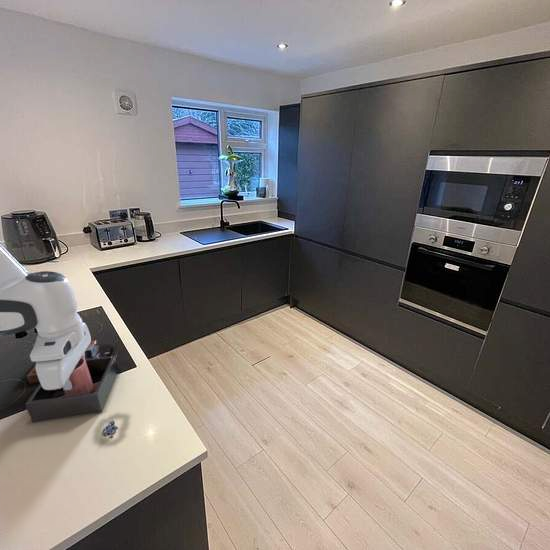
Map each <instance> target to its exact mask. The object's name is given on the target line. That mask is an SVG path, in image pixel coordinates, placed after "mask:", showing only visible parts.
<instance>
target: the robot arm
mask: <svg viewBox="0 0 550 550" xmlns="http://www.w3.org/2000/svg"><path fill="white" fill-rule="evenodd" d="M71 285H72V284H71V283H70V282H69V279H68V278H67V277H66V276H65V275H64V274H62V273H59V272H57V271H52V270H51V271H50V270H44V271H36V272H31V271H29V270H28V269H26V268H25V267H24V266H23V265H22V264H21V263H20V262H19V261H18V260H17V259H16V258H15V257H14V256H13V255H12V254H11V253H10V252H9V251H8V250H7V249H6V248H5V247H4V246H3V245H2V244H1V243H0V336H10V335H15V334H19V333H22V332H26V331H29V330H32V329H36V332H37V335H36V339H35V343H34V345H33V347H32V350H31V351H30V354H29V358H30V361H31V362H35V365H36V373H37V376H38V378H39V381H40V382H39V385H40V384H41V386H42V388H43V389H45V390H55V389H57V390H60V389H62V390H63V389H64V390H71V389H72V387H73V385H74V383H73V380H71V381H70V380H69V378H70V377H69V376H70V375H71V373H72V371H73V370H74V368H75V367H76V365H77V363H78V362H79V360H80V359H81V357H83V358H85V351H86V349H87V348H88V346H89V345H90V343H91V341H92V337H91V333H90V330H89V328H88V325H87V324H86V323H85V322H83V318H82V317H81V316H80V315H79V313H78V311H77V299H76V297H75V293H74V291H73V288H72V286H71ZM64 390H63V391H64Z"/></svg>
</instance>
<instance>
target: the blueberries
mask: <svg viewBox="0 0 550 550" xmlns="http://www.w3.org/2000/svg"><path fill="white" fill-rule="evenodd" d="M118 429H119V427H118V426H117V425H115V421H114V420H111V421H110V422H108V423H107V424H106V426H105V427H104V428H102V435H103V437H108V436H109V437H108V439H113V438H114V435H115V434H116V433H117V430H118Z"/></svg>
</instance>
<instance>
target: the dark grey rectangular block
mask: <svg viewBox="0 0 550 550" xmlns="http://www.w3.org/2000/svg"><path fill="white" fill-rule="evenodd" d="M98 346H99V345H98V341H97V340H96V339H95V340H91V343H90V344H89V346H88V348H87V350H86V352H87V356H88V359H90V358H94V357H95V355H96V353H97V352H98V350H99V349H98Z"/></svg>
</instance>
